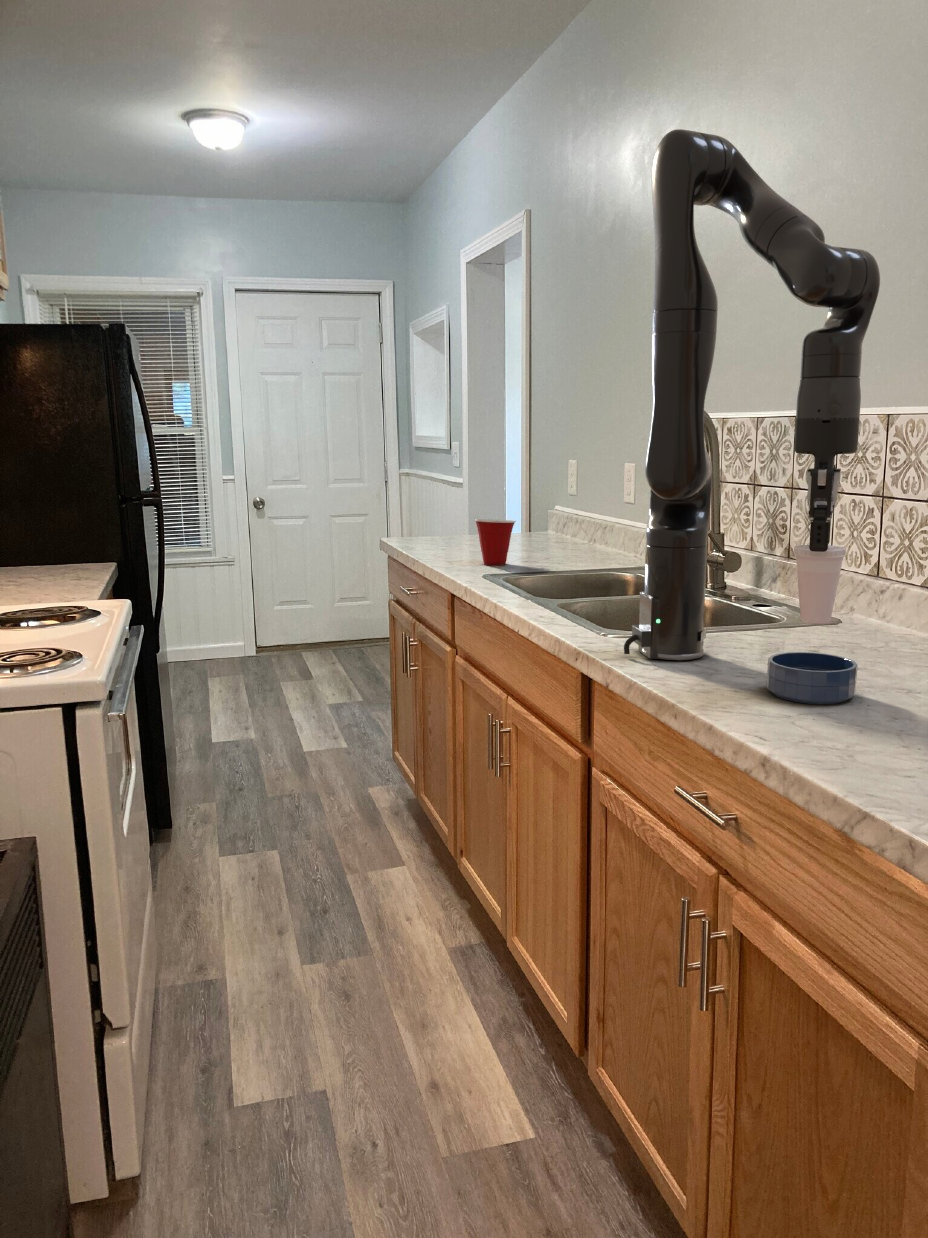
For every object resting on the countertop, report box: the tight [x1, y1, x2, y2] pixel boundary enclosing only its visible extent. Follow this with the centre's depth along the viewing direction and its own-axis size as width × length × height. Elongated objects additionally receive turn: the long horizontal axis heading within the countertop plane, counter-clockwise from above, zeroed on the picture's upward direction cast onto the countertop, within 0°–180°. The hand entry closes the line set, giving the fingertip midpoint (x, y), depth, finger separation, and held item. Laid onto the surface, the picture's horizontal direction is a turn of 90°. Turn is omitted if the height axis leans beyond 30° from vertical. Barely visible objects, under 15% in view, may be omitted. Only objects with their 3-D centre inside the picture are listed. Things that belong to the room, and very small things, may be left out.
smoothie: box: [792, 521, 847, 625], centre depth 125 cm, size 6×6×14 cm
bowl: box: [766, 651, 858, 705], centre depth 128 cm, size 11×11×4 cm
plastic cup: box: [474, 518, 517, 567], centre depth 251 cm, size 11×11×12 cm
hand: (819, 547), depth 124 cm, fingers closed on smoothie, 6 cm apart
